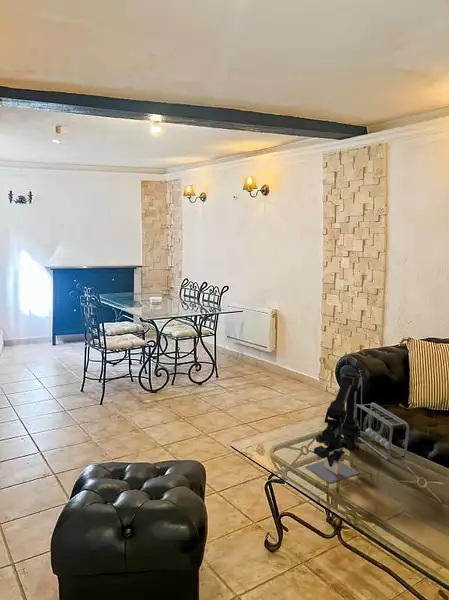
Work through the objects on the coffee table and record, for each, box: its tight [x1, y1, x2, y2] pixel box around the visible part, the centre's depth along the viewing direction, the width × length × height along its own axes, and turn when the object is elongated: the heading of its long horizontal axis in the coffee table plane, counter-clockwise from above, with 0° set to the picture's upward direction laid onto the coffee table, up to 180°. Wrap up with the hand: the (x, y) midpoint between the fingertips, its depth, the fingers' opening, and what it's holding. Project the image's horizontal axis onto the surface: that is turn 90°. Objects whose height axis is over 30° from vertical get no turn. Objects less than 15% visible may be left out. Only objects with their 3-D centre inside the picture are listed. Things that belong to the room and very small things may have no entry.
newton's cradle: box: [355, 402, 410, 461], centre depth 257 cm, size 30×10×18 cm, turn 19°
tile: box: [324, 457, 340, 475], centre depth 231 cm, size 2×8×5 cm, turn 32°
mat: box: [304, 460, 360, 484], centre depth 232 cm, size 18×16×1 cm
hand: (332, 466), depth 231 cm, fingers closed on tile, 2 cm apart
